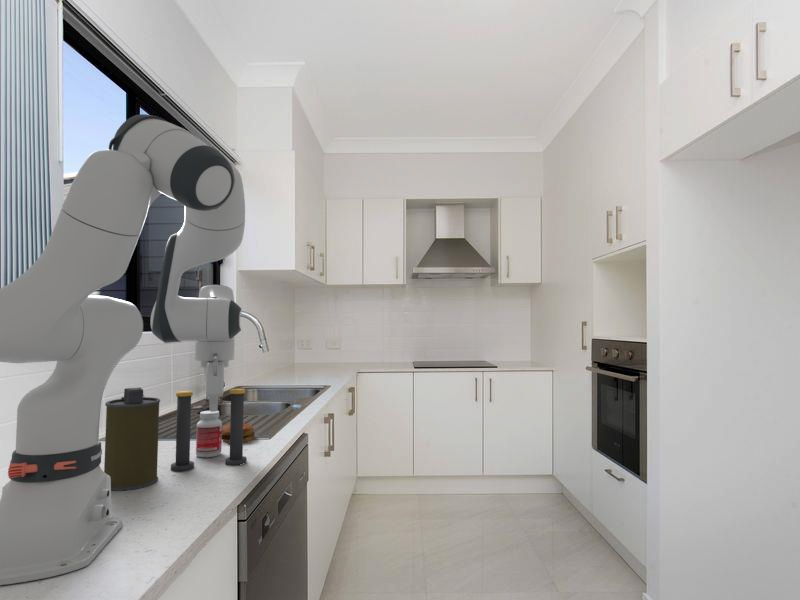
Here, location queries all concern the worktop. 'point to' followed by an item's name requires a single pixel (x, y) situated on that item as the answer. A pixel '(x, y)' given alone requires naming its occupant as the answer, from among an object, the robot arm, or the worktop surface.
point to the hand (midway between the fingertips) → (213, 410)
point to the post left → (183, 432)
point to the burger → (247, 433)
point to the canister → (132, 440)
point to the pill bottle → (209, 435)
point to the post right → (236, 428)
